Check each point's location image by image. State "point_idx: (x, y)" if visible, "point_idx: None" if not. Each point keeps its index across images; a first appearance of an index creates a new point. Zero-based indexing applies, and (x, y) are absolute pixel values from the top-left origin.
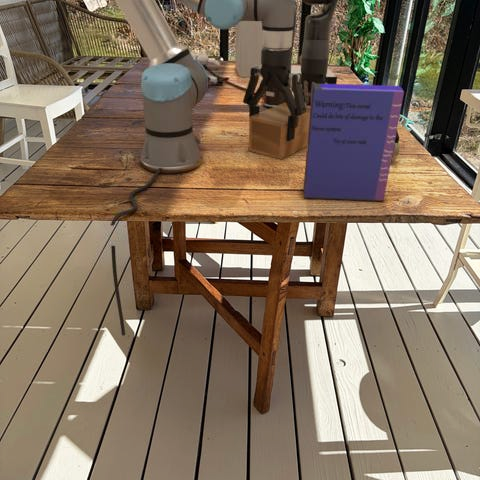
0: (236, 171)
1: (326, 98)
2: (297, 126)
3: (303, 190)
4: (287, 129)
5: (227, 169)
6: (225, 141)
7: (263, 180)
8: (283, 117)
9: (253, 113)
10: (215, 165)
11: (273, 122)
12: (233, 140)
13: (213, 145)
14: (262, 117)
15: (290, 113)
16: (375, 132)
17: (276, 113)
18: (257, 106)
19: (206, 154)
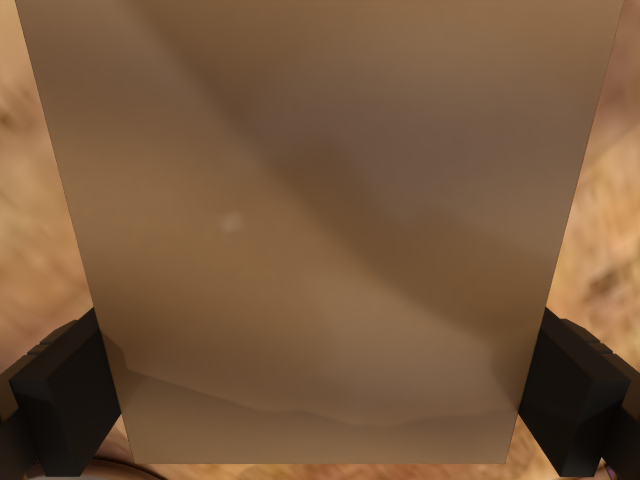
0: (327, 472)
1: None
2: (574, 326)
3: (610, 476)
4: None
5: (290, 475)
6: (33, 261)
7: (449, 476)
8: (408, 314)
9: (110, 426)
10: (231, 473)
11: (395, 461)
12: (46, 222)
13: (45, 336)
14: (238, 426)
15: (404, 119)
16: None
17: (259, 236)
18: (31, 395)
19: (119, 423)
